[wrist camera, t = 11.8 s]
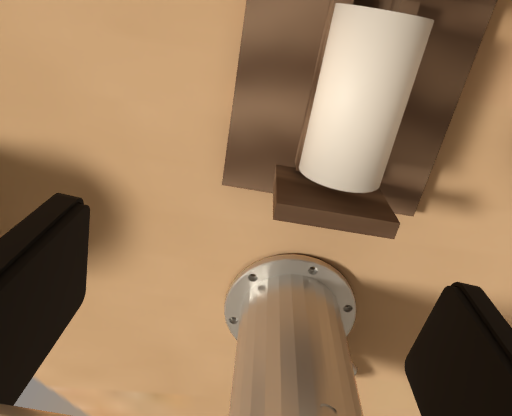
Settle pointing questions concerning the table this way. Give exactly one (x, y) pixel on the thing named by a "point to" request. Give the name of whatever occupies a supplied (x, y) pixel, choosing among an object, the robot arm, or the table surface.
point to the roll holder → (302, 97)
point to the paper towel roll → (362, 95)
